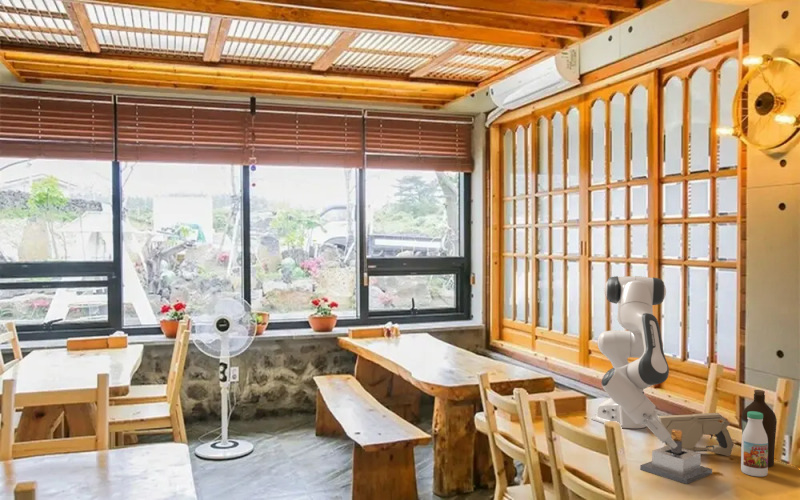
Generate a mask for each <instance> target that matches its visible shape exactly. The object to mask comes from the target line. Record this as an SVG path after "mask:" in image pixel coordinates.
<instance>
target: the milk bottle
mask: <svg viewBox="0 0 800 500" xmlns="http://www.w3.org/2000/svg"><path fill="white" fill-rule="evenodd" d="M747 419H748V423H747V425H746V427H745V429H744V431H743V434H742V433H741V449H740V453H741V454H740V471H741V472H742V473H743V474H744V475H745V474H746V475H748V476H752V477H766V476H768V474H769V473H768V472H769V470H768V469H769V467H768V438H767V434H766V432H765V430H764V427H763V424H762V421H763V414H762V413H760V412H755V411H749V412H748V413H747Z"/></svg>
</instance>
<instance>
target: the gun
mask: <svg viewBox="0 0 800 500" xmlns="http://www.w3.org/2000/svg"><path fill="white" fill-rule="evenodd" d="M658 417H659V419H660V420H661V422H662V423H663V425H664V426H665V428H666V429H667V430H668V432H669V433H670V435H671V432H672V430H673V429H676V430H681V431H682V448H683V449H687V450H690V451H694V452H698V453H701V452H709V453H710V452H711V453H714V454H716V455H717V454H718V455H723V456H727V457H731V454H732V451H733V448H734V443H733V442H734V441H733V440H732V437H731V435H730V432H729V430H728V429H727V428H728V426H730V424H731V422H730V421H728V420H727V419H726V418H725V417H724V416H723V415H722V414H720V413H719V412H708V413H707V412H706V413H704V412H703V413H693V414H675V415H674V414H673V415H659V416H658ZM720 421H722V422H720ZM706 435H708V436H709V435H710V439H712V438H713V435H714V436H715V437H716V439H715V440H716V441H717V443H718V444H713V445H706V446H697V445H698V443H699V441H701V439H702V438H703V436H706ZM668 445H669V444H668V443H667V442H664V445H663V447H665V446H668Z"/></svg>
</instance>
